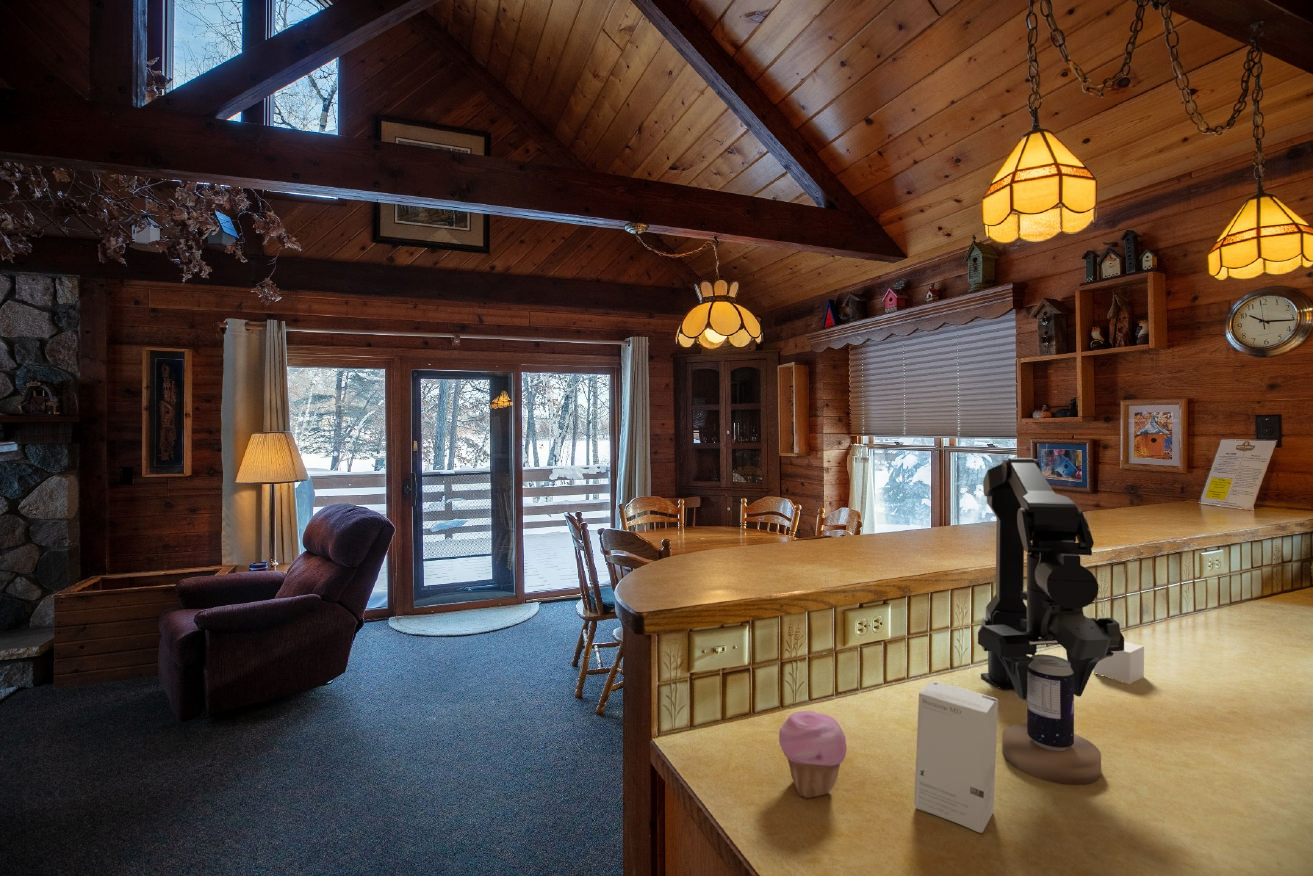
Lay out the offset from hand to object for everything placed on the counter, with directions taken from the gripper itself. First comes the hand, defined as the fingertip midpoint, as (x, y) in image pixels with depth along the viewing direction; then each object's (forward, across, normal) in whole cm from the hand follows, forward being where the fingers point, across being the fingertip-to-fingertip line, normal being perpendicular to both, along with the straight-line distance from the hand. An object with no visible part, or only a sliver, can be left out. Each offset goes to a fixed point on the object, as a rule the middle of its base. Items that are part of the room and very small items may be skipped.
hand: (1049, 697), depth 90 cm
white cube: (+10, +35, +26) cm, 45 cm away
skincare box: (+9, -20, -9) cm, 24 cm away
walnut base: (+9, 0, 0) cm, 9 cm away
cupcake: (+9, -36, -2) cm, 37 cm away
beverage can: (+7, 0, 0) cm, 7 cm away
